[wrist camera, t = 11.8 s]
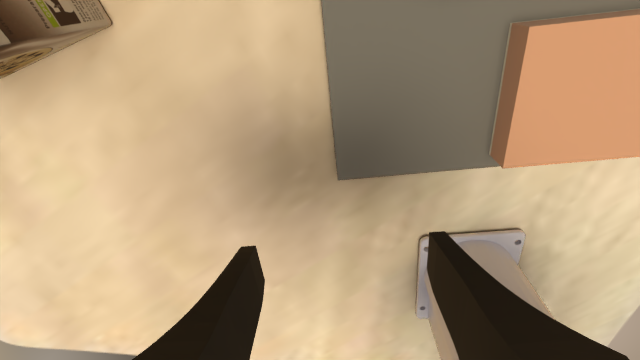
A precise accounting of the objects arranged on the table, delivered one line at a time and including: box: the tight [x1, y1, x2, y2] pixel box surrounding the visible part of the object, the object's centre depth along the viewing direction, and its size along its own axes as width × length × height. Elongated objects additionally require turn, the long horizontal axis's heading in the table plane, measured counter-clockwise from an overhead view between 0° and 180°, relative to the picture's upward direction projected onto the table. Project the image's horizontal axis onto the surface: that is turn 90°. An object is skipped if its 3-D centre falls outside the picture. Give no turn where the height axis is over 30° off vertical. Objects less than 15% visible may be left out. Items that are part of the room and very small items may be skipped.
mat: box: [321, 0, 640, 180], centre depth 19 cm, size 15×21×1 cm
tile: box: [489, 8, 640, 168], centre depth 19 cm, size 8×2×10 cm
